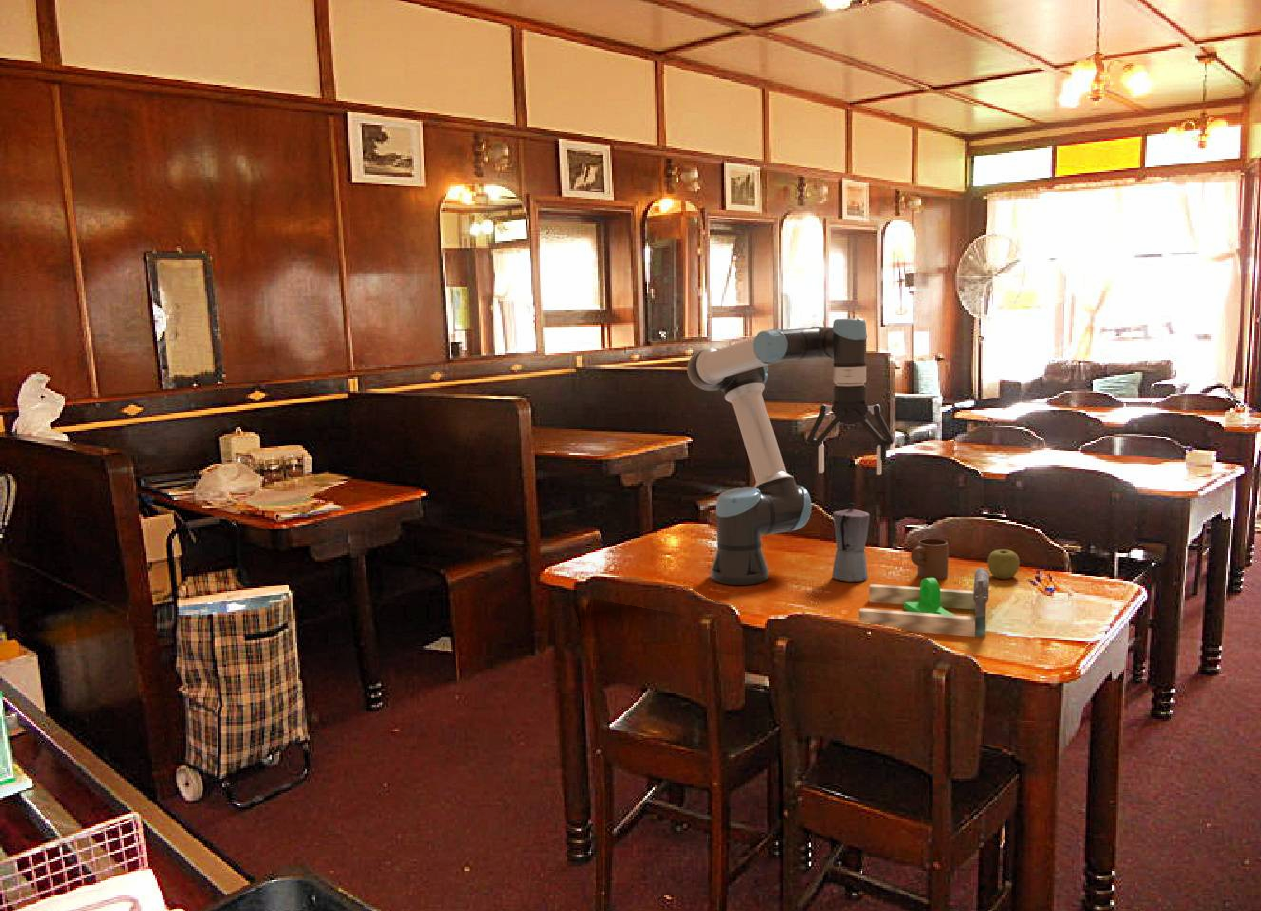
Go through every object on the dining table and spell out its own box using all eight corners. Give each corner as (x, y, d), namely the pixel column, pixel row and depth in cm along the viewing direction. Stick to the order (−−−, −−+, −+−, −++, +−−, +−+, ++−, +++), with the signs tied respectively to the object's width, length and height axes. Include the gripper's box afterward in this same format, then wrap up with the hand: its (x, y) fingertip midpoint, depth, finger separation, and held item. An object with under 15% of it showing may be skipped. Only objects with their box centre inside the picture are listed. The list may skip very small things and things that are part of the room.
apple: (982, 579, 238) (982, 552, 237) (994, 572, 244) (995, 545, 243) (1012, 584, 233) (1012, 556, 232) (1024, 577, 239) (1024, 550, 238)
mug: (924, 586, 234) (924, 549, 233) (900, 579, 240) (900, 544, 239) (954, 577, 241) (954, 541, 239) (929, 571, 247) (930, 536, 246)
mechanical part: (904, 610, 217) (904, 577, 216) (927, 607, 218) (928, 574, 217) (930, 626, 205) (930, 591, 204) (955, 624, 207) (955, 589, 205)
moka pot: (874, 572, 247) (874, 499, 244) (863, 589, 234) (863, 511, 231) (838, 569, 251) (838, 497, 248) (825, 585, 238) (824, 509, 235)
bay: (857, 630, 204) (857, 573, 202) (870, 599, 225) (870, 547, 223) (987, 641, 195) (988, 581, 193) (987, 608, 215) (989, 554, 213)
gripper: (794, 386, 221) (795, 474, 224) (903, 385, 212) (902, 477, 215) (800, 383, 228) (801, 468, 231) (906, 382, 219) (905, 471, 222)
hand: (849, 473), depth 223 cm, fingers open, 13 cm apart
